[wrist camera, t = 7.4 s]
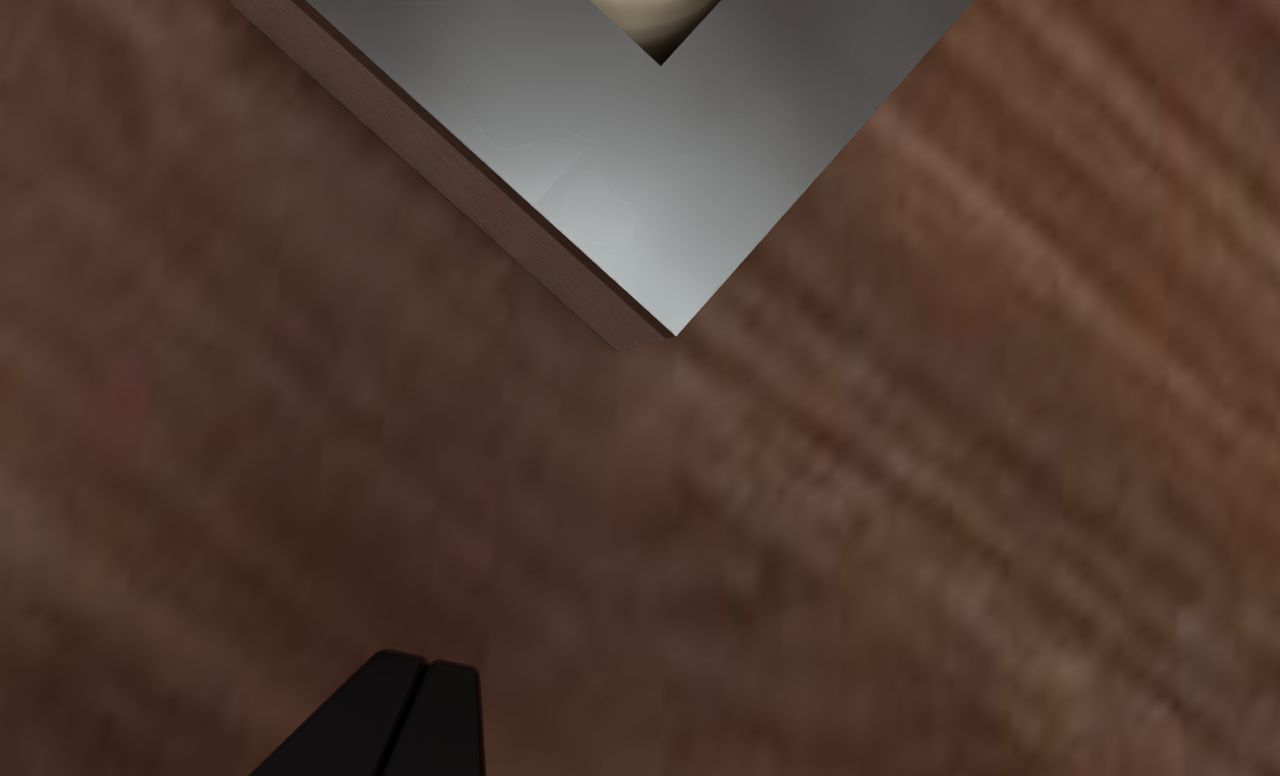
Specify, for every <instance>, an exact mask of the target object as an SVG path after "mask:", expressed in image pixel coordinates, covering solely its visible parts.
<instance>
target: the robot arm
mask: <svg viewBox="0 0 1280 776" xmlns="http://www.w3.org/2000/svg"><path fill="white" fill-rule="evenodd" d="M249 776H486V766H485V749H484V732H483V716H482V699H481V682H480V674H479V671H478V669H477V668H476V667H474V666H471V665H466V664H461V663H456V662H451V661H446V660H441V659H439V660H434V661H432V662H431V663H430V664H429V662H428V660H427V659H426V658H425V657H423V656H421V655H416V654H411V653H406V652H401V651H396V650H391V649H383V650H380V651H378V652H376V653H375V654H374V655H373V656H371V657H370V658H369V659H368V660H367V661H366V662H365V663H364V664H363V665H362V666H361V667H360V668H359V669H358V670H357V671H356V672H355V673H354V674H353V675H352V676H351V677H350V678H349V679H348V680H347V681H345V682H344V683H343V684H342V685H341V686H340V687H339V688H338V689H337V690H336V691H335V692H334V693H333V694H332V695H331V696H330V697H329V698H328V699H327V700H326V701H325V702H324V703H323V704H322V705H321V706H320V707H319V708H318V709H317V710H316V711H315V712H314V713H312V714H311V715H310V716H309V717H308V718H307V719H306V720H305V721H304V722H303V723H302V724H301V725H300V726H299V727H298V728H297V729H296V730H295V731H294V732H293V733H292V734H291V735H290V736H289V737H288V738H287V739H286V740H285V741H284V742H283V743H282V744H281V745H280V746H278V747H277V748H276V749H275V750H274V751H273V752H272V753H271V754H270V755H269V756H268V757H267V758H266V759H265V760H264V761H263V762H262V763H261V764H260V765H259V766H258V767H257V768H256V769H255V770H254V771H253V772H252V773H251V774H250V775H249Z"/></svg>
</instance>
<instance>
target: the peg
mask: <svg viewBox="0 0 1280 776" xmlns="http://www.w3.org/2000/svg"><path fill="white" fill-rule="evenodd" d="M590 1H591V2H592V3H594V4H595V5H596V6H597V7H598V8H599V9H600V10H601V11H602V12H603V13H604V14H605V15H606V16H607V17H609V18H610V19H611V20H612V21H613V22H614V23H615V24H616V25H617V26H618V27H619V28H620V29H621V30H622V31H623V32H625V33H626V34H627V35H628V36H629V37H630V38H631V39H632V40H633V41H634V42H635V43H636V44H637V45H638V46H640V47H641V48H642V49H643V50H644V51H645V52H646V53H647V54H648V55H649V56H650V57H651V58H652V59H653V60H655V61H656V62H657V63H658V64H659V65H660V66H662V65H663V64H664V62H665V61H666V60H667V59H668V58H669V57H670V56H671V55H672V54H673V53H674V51H675V50H676V49H677V48H678V47H679V46H680V45H681V44H682V43H683V42H684V40H685V39H686V38H687V37H688V36H689V35H690V34H691V33H692V32H693V31H694V29H695V28H696V27H697V26H698V25H699V24H700V23H701V22H702V21H703V20H704V18H705V17H706V16H707V15H708V14H709V13H710V12H711V11H712V10H713V9H714V7H715V6H716V5H717V4H718V3H719V2H720V1H721V0H590Z"/></svg>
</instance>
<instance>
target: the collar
mask: <svg viewBox="0 0 1280 776" xmlns="http://www.w3.org/2000/svg"><path fill="white" fill-rule="evenodd" d="M229 1H230V2H231V3H232V5H233V6H234V7H235V8H236V9H237V10H238V11H239V12H240V13H241V14H242V15H243V16H244V17H246V18H247V19H248V20H249V21H250V22H251V23H252V24H253V25H254V26H256V27H257V28H258V29H259V30H260V31H261V32H262V33H263V34H264V35H266V36H267V37H268V38H269V39H270V40H271V41H272V42H273V43H274V44H276V45H277V46H278V47H279V48H280V49H281V50H282V51H283V52H284V53H286V54H287V55H288V56H289V57H290V58H291V59H292V60H293V61H295V62H296V63H297V64H298V65H299V66H300V67H301V68H302V69H303V70H305V71H306V72H307V73H308V74H309V75H310V76H311V77H312V78H313V79H315V80H316V81H317V82H318V83H319V84H320V85H321V86H322V87H323V88H325V89H326V90H327V91H328V92H329V93H330V94H331V95H332V96H333V97H335V98H336V99H337V100H338V101H339V102H340V103H341V104H342V105H343V106H345V107H346V108H347V109H348V110H349V111H350V112H351V113H352V114H353V115H355V116H356V117H357V118H358V119H359V120H360V121H361V122H362V123H363V124H365V125H366V126H367V127H368V128H369V129H370V130H371V131H372V132H373V133H375V134H376V135H377V136H378V137H379V138H380V139H381V140H382V141H384V142H385V143H386V144H387V145H388V146H389V147H390V148H391V149H392V150H394V151H395V152H396V153H397V154H398V155H399V156H400V157H401V158H402V159H404V160H405V161H406V162H407V163H408V164H409V165H410V166H411V167H412V168H414V169H415V170H416V171H417V172H418V173H419V174H420V175H421V176H422V177H424V178H425V179H426V180H427V181H428V182H429V183H430V184H431V185H432V186H434V187H435V188H436V189H437V190H438V191H439V192H440V193H441V194H442V195H444V196H445V197H446V198H447V199H448V200H449V201H450V202H451V203H452V204H454V205H455V206H456V207H457V208H458V209H459V210H460V211H461V212H463V213H464V214H465V215H466V216H467V217H468V218H469V219H470V220H471V221H473V222H474V223H475V224H476V225H477V226H478V227H479V228H480V229H481V230H483V231H484V232H485V233H486V234H487V235H488V236H489V237H490V238H491V239H493V240H494V241H495V242H496V243H497V244H498V245H499V246H500V247H501V248H503V249H504V250H505V251H506V252H507V253H508V254H509V255H510V256H511V257H513V258H514V259H515V260H516V261H517V262H518V263H519V264H520V265H521V266H523V267H524V268H525V269H526V270H527V271H528V272H529V273H530V274H531V275H533V276H534V277H535V278H536V279H537V280H538V281H539V282H540V283H541V284H543V285H544V286H545V287H546V288H547V289H548V290H549V291H550V292H552V293H553V294H554V295H555V296H556V297H557V298H558V299H559V300H560V301H562V302H563V303H564V304H565V305H566V306H567V307H568V308H569V309H570V310H572V311H573V312H574V313H575V314H576V315H577V316H578V317H579V318H580V319H582V320H583V321H584V322H585V323H586V324H587V325H588V326H589V327H590V328H592V329H593V330H594V331H595V332H596V333H597V334H598V335H599V336H600V337H602V338H603V339H604V340H605V341H606V342H607V343H608V344H609V345H610V346H612V347H613V348H614V349H615V350H616V351H621V350H625V349H629V348H633V347H637V346H640V345H644V344H648V343H652V342H656V341H660V340H663V339H667V338H671V337H675V336H677V335H678V333H679V332H680V331H681V330H682V329H683V328H684V327H685V326H686V324H687V323H688V322H689V321H690V320H691V319H692V318H693V317H694V315H695V314H696V313H697V312H698V311H699V310H700V309H701V308H702V306H703V305H704V304H705V303H706V302H707V301H708V300H709V298H710V297H711V296H712V295H713V294H714V293H715V292H716V291H717V289H718V288H719V287H720V286H721V285H722V284H723V283H724V282H725V280H726V279H727V278H728V277H729V276H730V275H731V274H732V273H733V271H734V270H735V269H736V268H737V267H738V266H739V265H740V263H741V262H742V261H743V260H744V259H745V258H746V257H747V256H748V254H749V253H750V252H751V251H752V250H753V249H754V248H755V247H756V245H757V244H758V243H759V242H760V241H761V240H762V239H763V238H764V236H765V235H766V234H767V233H768V232H769V231H770V230H771V228H772V227H773V226H774V225H775V224H776V223H777V222H778V221H779V219H780V218H781V217H782V216H783V215H784V214H785V213H786V212H787V210H788V209H789V208H790V207H791V206H792V205H793V204H794V203H795V201H796V200H797V199H798V198H799V197H800V196H801V195H802V193H803V192H804V191H805V190H806V189H807V188H808V187H809V186H810V184H811V183H812V182H813V181H814V180H815V179H816V178H817V177H818V175H819V174H820V173H821V172H822V171H823V170H824V169H825V168H826V166H827V165H828V164H829V163H830V162H831V161H832V160H833V158H834V157H835V156H836V155H837V154H838V153H839V152H840V151H841V149H842V148H843V147H844V146H845V145H846V144H847V143H848V142H849V140H850V139H851V138H852V137H853V136H854V135H855V134H856V133H857V131H858V130H859V129H860V128H861V127H862V126H863V125H864V124H865V122H866V121H867V120H868V119H869V118H870V117H871V116H872V114H873V113H874V112H875V111H876V110H877V109H878V108H879V107H880V105H881V104H882V103H883V102H884V101H885V100H886V99H887V98H888V96H889V95H890V94H891V93H892V92H893V91H894V90H895V89H896V87H897V86H898V85H899V84H900V83H901V82H902V81H903V79H904V78H905V77H906V76H907V75H908V74H909V73H910V72H911V70H912V69H913V68H914V67H915V66H916V65H917V64H918V63H919V61H920V60H921V59H922V58H923V57H924V56H925V55H926V54H927V52H928V51H929V50H930V49H931V48H932V47H933V46H934V44H935V43H936V42H937V41H938V40H939V39H940V38H941V37H942V35H943V34H944V33H945V32H946V31H947V30H948V29H949V28H950V26H951V25H952V24H953V23H954V22H955V21H956V20H957V19H958V17H959V16H960V15H961V14H962V13H963V12H964V11H965V9H966V8H967V7H968V6H969V5H970V4H971V3H972V2H973V0H721V1H720V2H719V3H718V4H717V5H716V6H715V7H714V9H713V10H712V11H711V12H710V13H709V14H708V15H707V16H706V17H705V18H704V20H703V21H702V22H701V23H700V24H699V25H698V26H697V27H696V28H695V29H694V31H693V32H692V33H691V34H690V35H689V36H688V37H687V38H686V39H685V40H684V42H683V43H682V44H681V45H680V46H679V47H678V48H677V49H676V50H675V51H674V53H673V54H672V55H671V56H670V57H669V58H668V59H667V60H666V61H665V62H664V64H663V65H662V66H660V65H659V64H658V63H657V62H656V61H655V60H653V59H652V58H651V57H650V56H649V55H648V54H647V53H646V52H645V51H644V50H643V49H642V48H641V47H640V46H638V45H637V44H636V43H635V42H634V41H633V40H632V39H631V38H630V37H629V36H628V35H627V34H626V33H625V32H623V31H622V30H621V29H620V28H619V27H618V26H617V25H616V24H615V23H614V22H613V21H612V20H611V19H610V18H609V17H607V16H606V15H605V14H604V13H603V12H602V11H601V10H600V9H599V8H598V7H597V6H596V5H595V4H594V3H592V2H591V1H590V0H229Z"/></svg>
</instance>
